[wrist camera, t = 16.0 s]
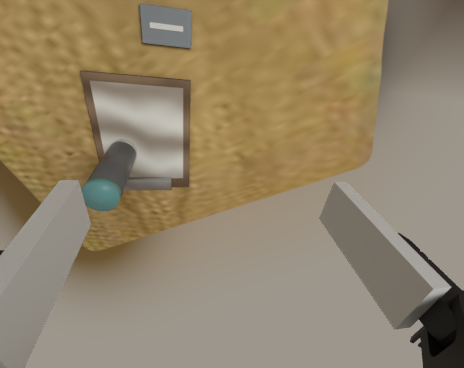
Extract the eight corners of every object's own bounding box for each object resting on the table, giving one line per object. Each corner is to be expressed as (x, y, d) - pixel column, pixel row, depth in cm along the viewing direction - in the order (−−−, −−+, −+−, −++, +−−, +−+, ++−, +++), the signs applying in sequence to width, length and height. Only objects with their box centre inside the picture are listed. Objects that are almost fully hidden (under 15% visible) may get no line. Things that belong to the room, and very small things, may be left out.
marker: (107, 138, 36) (76, 182, 26) (136, 139, 36) (115, 182, 26) (112, 161, 38) (84, 211, 28) (138, 162, 39) (121, 210, 29)
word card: (140, 3, 28) (139, 3, 28) (191, 11, 29) (191, 10, 29) (143, 42, 30) (142, 42, 30) (190, 47, 32) (191, 48, 31)
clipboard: (81, 70, 31) (76, 73, 30) (190, 80, 34) (190, 82, 32) (105, 184, 41) (102, 191, 39) (188, 185, 44) (188, 190, 42)
